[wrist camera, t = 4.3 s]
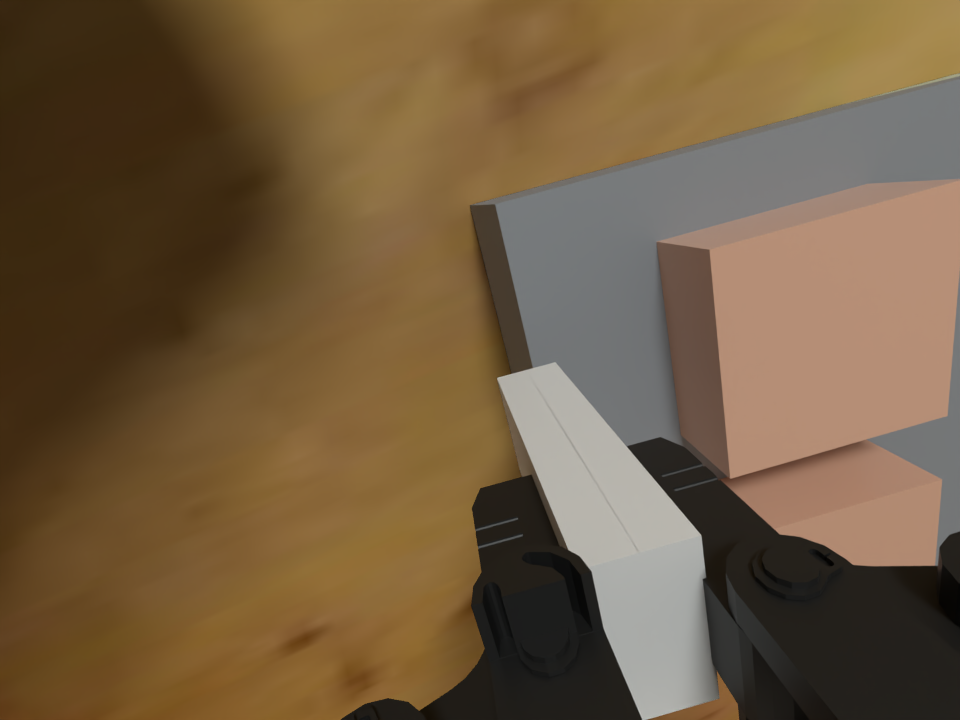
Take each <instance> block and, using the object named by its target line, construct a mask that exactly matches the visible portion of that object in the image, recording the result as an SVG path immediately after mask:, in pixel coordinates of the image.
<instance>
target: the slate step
mask: <svg viewBox="0 0 960 720" xmlns="http://www.w3.org/2000/svg"><path fill="white" fill-rule="evenodd" d="M948 179H960V76H958V77H954V78H950V79H946V80H942V81H938V82H934V83H929V84H925V85H921V86H917V87H913V88H909V89H905V90H901V91H897V92H893V93H889V94H884V95H880V96H876V97H872V98H868V99H864V100H860V101H856V102H852V103H848V104H844V105H840V106H836V107H832V108H829V109H825V110H821V111H818V112H814V113H810V114H806V115H803V116H799V117H795V118H792V119H788V120H784V121H780V122H777V123H773V124H769V125H766V126H762V127H758V128H755V129H751V130H747V131H743V132H740V133H736V134H732V135H729V136H725V137H721V138H717V139H714V140H710V141H706V142H703V143H699V144H695V145H691V146H688V147H684V148H680V149H677V150H673V151H669V152H666V153H662V154H658V155H654V156H651V157H647V158H643V159H640V160H636V161H632V162H628V163H625V164H621V165H617V166H614V167H610V168H606V169H602V170H599V171H595V172H591V173H588V174H584V175H580V176H577V177H573V178H569V179H565V180H562V181H558V182H554V183H551V184H547V185H543V186H539V187H536V188H532V189H528V190H525V191H521V192H517V193H513V194H510V195H506V196H502V197H499V198H495V199H491V200H488V201H484V202H480V203H476V204H473V205H470V208H471V212H472V216H473V220H474V224H475V228H476V232H477V236H478V240H479V244H480V248H481V252H482V256H483V260H484V264H485V268H486V272H487V276H488V280H489V284H490V288H491V292H492V296H493V300H494V304H495V308H496V312H497V316H498V320H499V325H500V329H501V333H502V337H503V341H504V345H505V349H506V353H507V357H508V361H509V365H510V369H511V373H512V374H513V373H517V372H521V371H524V370H528V369H532V368H536V367H539V366H543V365H547V364H550V363H554V362H556V363H557V365H558V366H559V367H560V368H561V369H562V371H563V372H564V373H565V374H566V375H567V377H568V378H569V379H570V380H571V381H572V382H573V384H574V385H575V386H576V387H577V388H578V390H579V391H580V392H581V393H582V394H583V396H584V397H585V398H586V399H587V400H588V401H589V403H590V404H591V405H592V406H593V407H594V409H595V410H596V411H597V412H598V413H599V414H600V416H601V417H602V418H603V419H604V420H605V422H606V423H607V424H608V425H609V426H610V428H611V429H612V430H613V431H614V432H615V433H616V435H617V436H618V437H619V438H620V439H621V441H622V442H623V443H624V444H625V445H626V446H629V445H633V444H636V443H640V442H644V441H647V440H651V439H655V438H658V437H662V438H664V439H666V440H669V441H671V442H674V443H676V444H679V445H681V446H683V447H685V448H686V449H688V450H689V451H690V452H691V453H692V454H693V455H694V456H695V457H696V458H697V459H698V460H700V461H701V462H702V465H703V466H706V467H707V468H708V469H709V470H710V471H711V472H713V473H714V474H715V475H716V476H717V479H718V480H719V479H722V478H726V477H728V476H726V475H725V474H724V473H723V472H722V471H721V470H720V469H719V468H717V467H716V466H715V465H714V464H713V463H712V462H711V461H710V460H708V459H707V458H706V457H705V456H704V455H703V454H702V453H701V452H699V451H698V450H697V449H696V448H695V447H694V446H693V445H692V444H690V443H689V442H688V441H687V440H686V439H685V438H684V437H683V436H681V432H680V424H679V416H678V408H677V400H676V392H675V384H674V377H673V369H672V361H671V353H670V345H669V337H668V329H667V321H666V313H665V305H664V297H663V289H662V282H661V274H660V266H659V258H658V250H657V241H661V240H664V239H668V238H672V237H675V236H679V235H683V234H686V233H690V232H694V231H697V230H701V229H705V228H708V227H712V226H715V225H719V224H723V223H726V222H730V221H734V220H737V219H741V218H745V217H748V216H752V215H755V214H759V213H763V212H766V211H770V210H774V209H777V208H781V207H785V206H788V205H792V204H796V203H799V202H803V201H806V200H810V199H814V198H817V197H821V196H825V195H828V194H832V193H836V192H839V191H843V190H846V189H850V188H854V187H857V186H861V185H865V184H872V183H891V182H910V181H929V180H948ZM866 440H868V441H870V442H872V443H874V444H876V445H878V446H880V447H881V448H883V449H885V450H887V451H889V452H891V453H893V454H895V455H897V456H899V457H900V458H902V459H904V460H906V461H908V462H910V463H912V464H914V465H916V466H918V467H919V468H921V469H923V470H925V471H927V472H929V473H931V474H933V475H935V476H937V477H938V478H940V479H942V488H941V500H940V512H939V524H938V536H937V548H936V560H935V566H938V558H939V547H940V546H941V544H942V543H943V542H944V541H945V539H946V538H947V537H948V536H949V535H950V534H953V533H956V532H959V531H960V271H959V284H958V296H957V308H956V320H955V332H954V344H953V356H952V368H951V380H950V392H949V404H948V416H946V417H942V418H939V419H935V420H932V421H928V422H925V423H921V424H918V425H915V426H911V427H908V428H904V429H901V430H897V431H894V432H890V433H887V434H884V435H880V436H877V437H873V438H870V439H866Z"/></svg>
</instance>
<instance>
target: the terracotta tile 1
mask: <svg viewBox="0 0 960 720" xmlns="http://www.w3.org/2000/svg"><path fill="white" fill-rule="evenodd" d="M657 250H658V258H659V266H660V274H661V282H662V289H663V297H664V305H665V313H666V321H667V329H668V337H669V345H670V353H671V361H672V369H673V377H674V384H675V392H676V400H677V408H678V416H679V424H680V432H681V436H683V437H684V438H685V439H686V440H687V441H688V442H689V443H690V444H692V445H693V446H694V447H695V448H696V449H697V450H698V451H699V452H701V453H702V454H703V455H704V456H705V457H706V458H707V459H708V460H710V461H711V462H712V463H713V464H714V465H715V466H716V467H717V468H719V469H720V470H721V471H722V472H723V473H724V474H725V475H726V476H728V477H729V478H730V479H732V478H735V477H739V476H742V475H745V474H749V473H752V472H756V471H759V470H763V469H766V468H770V467H773V466H777V465H780V464H783V463H787V462H790V461H794V460H797V459H801V458H804V457H808V456H811V455H814V454H818V453H821V452H825V451H828V450H832V449H835V448H839V447H842V446H846V445H849V444H852V443H856V442H859V441H863V440H866V439H870V438H873V437H877V436H880V435H884V434H887V433H890V432H894V431H897V430H901V429H904V428H908V427H911V426H915V425H918V424H921V423H925V422H928V421H932V420H935V419H939V418H942V417H946V416H948V404H949V392H950V380H951V368H952V356H953V344H954V332H955V320H956V308H957V296H958V284H959V271H960V179H948V180H929V181H910V182H891V183H872V184H865V185H861V186H857V187H854V188H850V189H846V190H843V191H839V192H836V193H832V194H828V195H825V196H821V197H817V198H814V199H810V200H806V201H803V202H799V203H796V204H792V205H788V206H785V207H781V208H777V209H774V210H770V211H766V212H763V213H759V214H755V215H752V216H748V217H745V218H741V219H737V220H734V221H730V222H726V223H723V224H719V225H715V226H712V227H708V228H705V229H701V230H697V231H694V232H690V233H686V234H683V235H679V236H675V237H672V238H668V239H664V240H661V241H657Z"/></svg>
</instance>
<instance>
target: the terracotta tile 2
mask: <svg viewBox="0 0 960 720" xmlns="http://www.w3.org/2000/svg"><path fill="white" fill-rule="evenodd" d="M719 480H721V481H722V482H723V483H725V484H726V485H727V486H728V487H729V488H730V489H731V490H732V491H733V492H734V493H735V494H736V495H738V496H739V497H740V498H741V499H742V500H743V501H744V502H745V503H746V504H747V505H748V506H750V507H751V508H752V509H753V510H754V511H755V512H756V513H757V514H758V515H759V516H760V517H761V518H763V519H764V520H765V521H766V522H767V523H768V524H769V525H770V526H771V527H772V528H773V529H775V530H776V531H777V532H778V533H779V534H780V535H789V536H797V537H802V538H804V539H807V540H810V541H813V542H816V543H819V544H822V545H825V546H826V547H828V548H829V549H831V550H832V551H834V552H836V553H837V554H839V555H840V556H842V557H844V558H845V559H847V560H848V561H849V562H850V563H851V564H853V565H862V566H935V560H936V548H937V536H938V524H939V512H940V500H941V488H942V479H940V478H938V477H937V476H935V475H933V474H931V473H929V472H927V471H925V470H923V469H921V468H919V467H918V466H916V465H914V464H912V463H910V462H908V461H906V460H904V459H902V458H900V457H899V456H897V455H895V454H893V453H891V452H889V451H887V450H885V449H883V448H881V447H880V446H878V445H876V444H874V443H872V442H870V441H868V440H863V441H859V442H856V443H852V444H849V445H846V446H842V447H839V448H835V449H832V450H828V451H825V452H821V453H818V454H814V455H811V456H808V457H804V458H801V459H797V460H794V461H790V462H787V463H783V464H780V465H777V466H773V467H770V468H766V469H763V470H759V471H756V472H752V473H749V474H745V475H742V476H739V477H735V478H732V479H730V478H729V477H726V478H722V479H719Z"/></svg>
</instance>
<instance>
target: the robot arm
mask: <svg viewBox="0 0 960 720" xmlns="http://www.w3.org/2000/svg"><path fill="white" fill-rule="evenodd" d="M497 381H498V385H499V389H500V393H501V397H502V401H503V405H504V409H505V413H506V417H507V421H508V425H509V429H510V433H511V437H512V441H513V445H514V449H515V453H516V457H517V461H518V465H519V469H520V472H521V475H522V477H520V478H517V479H513V480H509V481H506V482H502V483H498V484H495V485H491V486H488V487H484V488H480V490H479V493H478V495H477V497H476V500H475V502H474V504H473V507H472V511H473V518H474V524H475V530H476V538H477V544H478V548H479V549H478V551H479V557H480V564H481V570H482V573H481V574H480V576H479V578H478V579H477V581H476V583H475V585H474V586H473V595H472V603H471V607H472V610H473V613H474V616H475V619H476V622H477V625H478V628H479V631H480V634H481V638H482V641H483V644H484V647H485V650H484V652H483V654H482V656H481V658H480V660H479V662H478V664H477V665H476V666H475V667H474V668H473V670H472V671H471V672H470V673H469V675H468V676H467V677H466V678H465V679H464V680H463V681H461V682H460V683H459V684H458V685H456V686H455V687H454V688H453V689H452V690H450V691H449V692H447V693H446V694H444V695H443V696H441V697H440V698H438V699H437V700H435V701H433V702H432V703H430V704H429V705H427V706H426V707H424V708H423V709H421V710H420V711H418V710H417V709H416V708H415V707H414V706H412V705H411V704H410V703H409V702H405V701H399V700H394V699H389V698H387V699H383V700H379V701H375V702H371V703H367V704H364V705H363V706H361V707H359V708H358V709H356V710H355V711H353V712H352V713H350V714H348V715H347V716H345V717H344V718H342V719H341V720H647V719H651V718H654V717H657V716H661V715H664V714H668V713H671V712H675V711H678V710H681V709H685V708H688V707H692V706H695V705H699V704H702V703H705V702H709V701H712V700H716V699H719V690H718V681H717V672H716V670H717V671H718V673H719V675H720V676H721V678H722V679H723V681H724V683H725V684H726V686H727V687H728V689H729V691H730V692H731V694H732V695H733V697H734V698H735V700H736V702H737V703H738V710H739V720H960V531H959V532H956V533H953V534H950V535H949V536H948V537H947V538H946V539H945V541H944V542H943V543H942V544H941V546H940V547H939V558H938V566H862V565H853V564H851V563H850V562H849V561H848V560H847V559H845V558H844V557H842V556H840V555H839V554H837V553H836V552H834V551H832V550H831V549H829V548H828V547H826V546H825V545H822V544H819V543H816V542H813V541H810V540H807V539H804V538H802V537H797V536H789V535H780V534H779V533H778V532H777V531H776V530H775V529H773V528H772V527H771V526H770V525H769V524H768V523H767V522H766V521H765V520H764V519H763V518H761V517H760V516H759V515H758V514H757V513H756V512H755V511H754V510H753V509H752V508H751V507H750V506H748V505H747V504H746V503H745V502H744V501H743V500H742V499H741V498H740V497H739V496H738V495H736V494H735V493H734V492H733V491H732V490H731V489H730V488H729V487H728V486H727V485H726V484H725V483H723V482H722V481H721V480H718V479H717V476H716V475H715V474H714V473H713V472H711V471H710V470H709V469H708V468H707V467H706V466H703V465H702V462H701V461H700V460H698V459H697V458H696V457H695V456H694V455H693V454H692V453H691V452H690V451H689V450H688V449H686V448H685V447H683V446H681V445H679V444H676V443H674V442H671V441H669V440H666V439H664V438H662V437H658V438H655V439H651V440H647V441H644V442H640V443H636V444H633V445H629V446H626V445H625V444H624V443H623V442H622V441H621V439H620V438H619V437H618V436H617V435H616V433H615V432H614V431H613V430H612V429H611V428H610V426H609V425H608V424H607V423H606V422H605V420H604V419H603V418H602V417H601V416H600V414H599V413H598V412H597V411H596V410H595V409H594V407H593V406H592V405H591V404H590V403H589V401H588V400H587V399H586V398H585V397H584V396H583V394H582V393H581V392H580V391H579V390H578V388H577V387H576V386H575V385H574V384H573V382H572V381H571V380H570V379H569V378H568V377H567V375H566V374H565V373H564V372H563V371H562V369H561V368H560V367H559V366H558V365H557V363H556V362H554V363H550V364H547V365H543V366H539V367H536V368H532V369H528V370H524V371H521V372H517V373H513V374H510V375H506V376H502V377H498V378H497Z"/></svg>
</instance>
